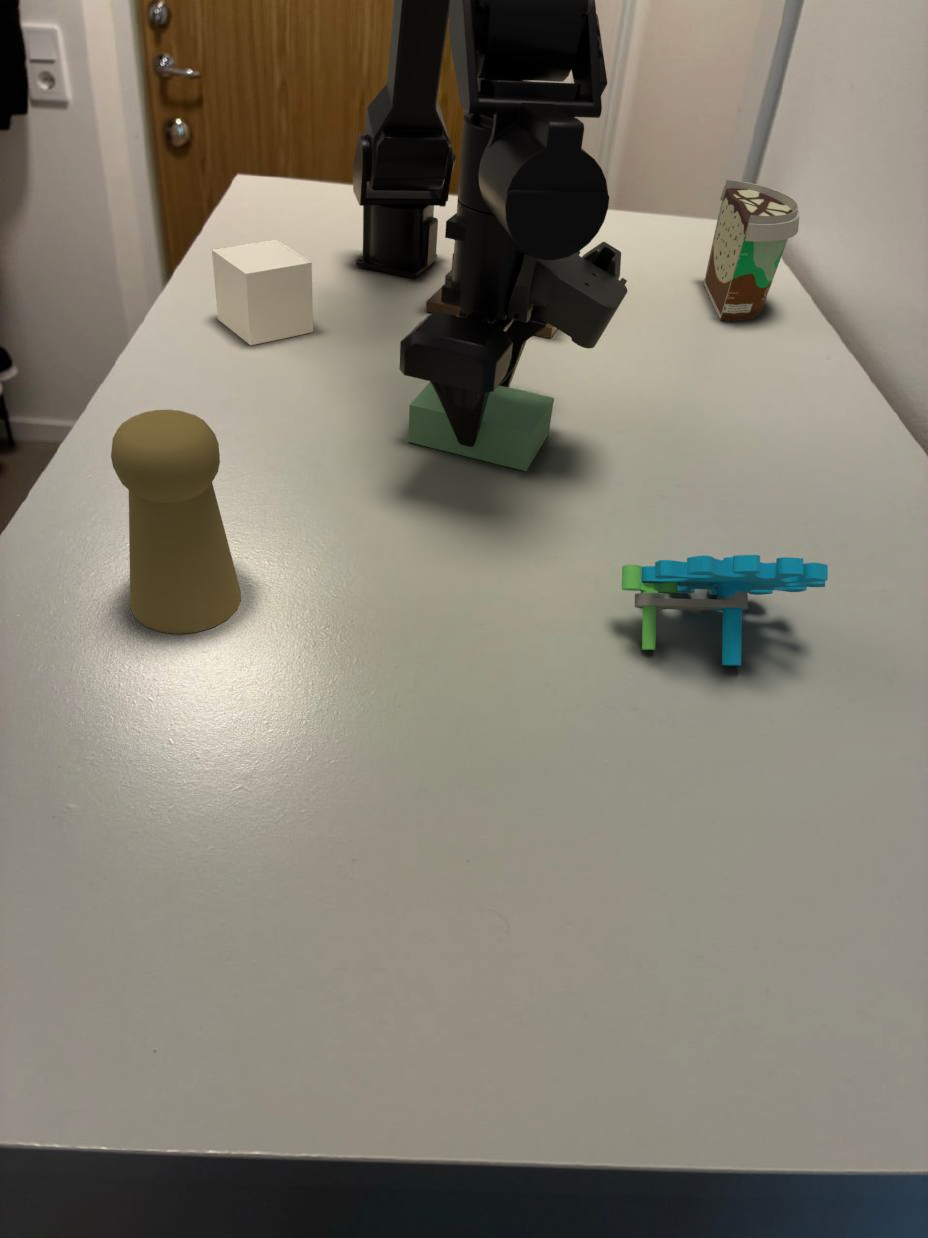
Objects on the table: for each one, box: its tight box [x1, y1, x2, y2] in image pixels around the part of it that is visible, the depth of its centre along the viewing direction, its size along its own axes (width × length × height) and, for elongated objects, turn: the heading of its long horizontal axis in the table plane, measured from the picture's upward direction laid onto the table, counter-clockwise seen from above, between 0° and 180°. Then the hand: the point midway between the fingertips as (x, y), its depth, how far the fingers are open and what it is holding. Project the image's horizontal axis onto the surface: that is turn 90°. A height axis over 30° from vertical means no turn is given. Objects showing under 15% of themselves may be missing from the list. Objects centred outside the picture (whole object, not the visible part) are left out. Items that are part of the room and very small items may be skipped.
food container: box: [703, 179, 800, 322], centre depth 92 cm, size 12×6×10 cm, turn 179°
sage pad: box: [407, 381, 555, 472], centre depth 69 cm, size 6×9×3 cm, turn 71°
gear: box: [621, 554, 829, 667], centre depth 52 cm, size 11×6×10 cm
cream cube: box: [211, 239, 314, 346], centre depth 80 cm, size 6×6×6 cm
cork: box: [110, 409, 242, 635], centre depth 50 cm, size 6×6×11 cm
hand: (480, 425), depth 69 cm, fingers closed on sage pad, 6 cm apart
